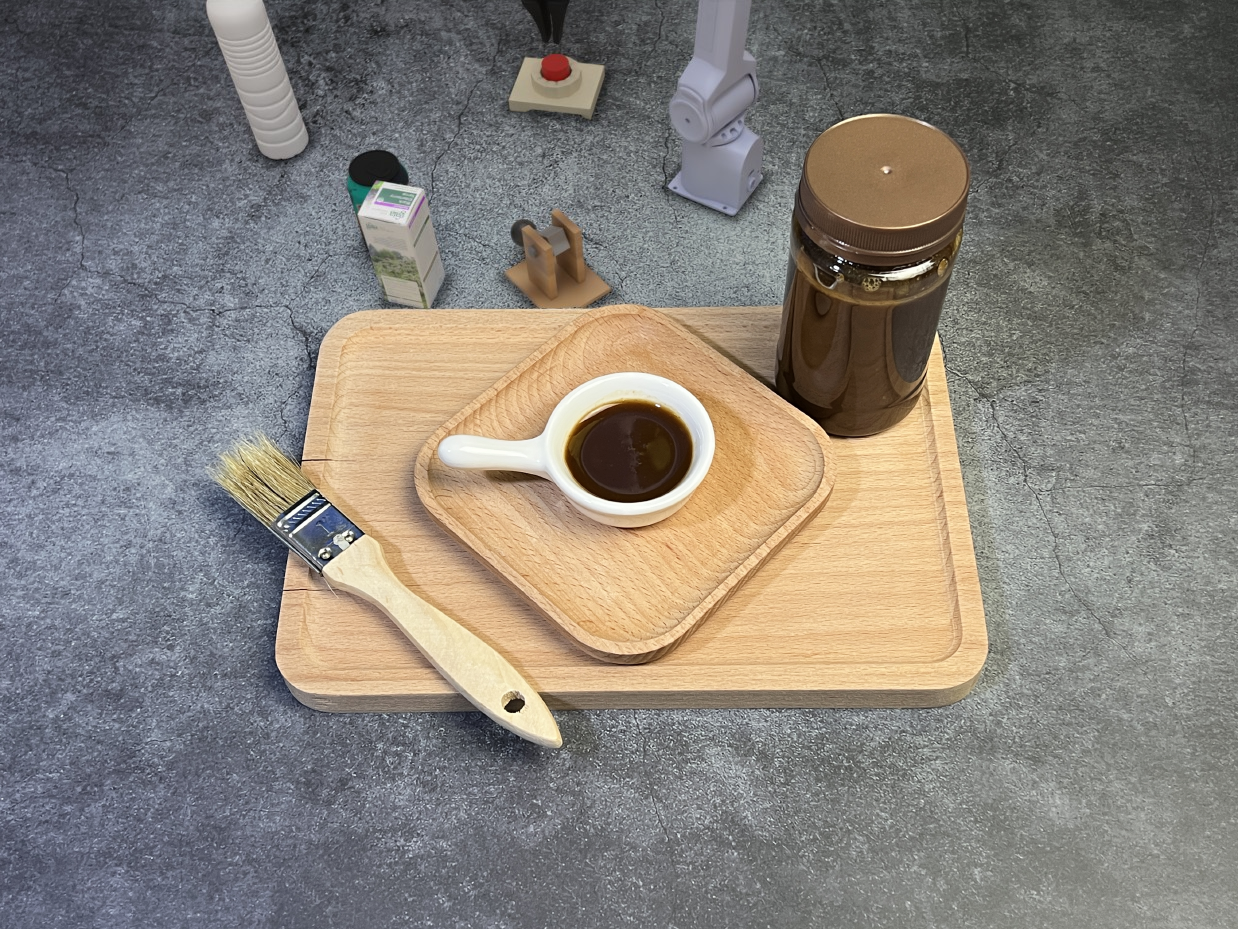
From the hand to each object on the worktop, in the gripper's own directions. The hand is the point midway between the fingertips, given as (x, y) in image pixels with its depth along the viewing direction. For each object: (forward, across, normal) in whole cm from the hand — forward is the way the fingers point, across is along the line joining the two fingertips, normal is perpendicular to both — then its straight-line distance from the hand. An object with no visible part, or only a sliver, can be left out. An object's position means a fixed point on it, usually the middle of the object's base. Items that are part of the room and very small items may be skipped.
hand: (552, 38), depth 141 cm
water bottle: (+9, +33, +15) cm, 37 cm away
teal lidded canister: (+9, +13, +30) cm, 34 cm away
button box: (+8, 0, 0) cm, 8 cm away
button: (+5, 0, 0) cm, 5 cm away
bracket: (+8, -8, +34) cm, 36 cm away
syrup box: (+9, +8, +37) cm, 39 cm away
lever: (+4, -6, +32) cm, 33 cm away
